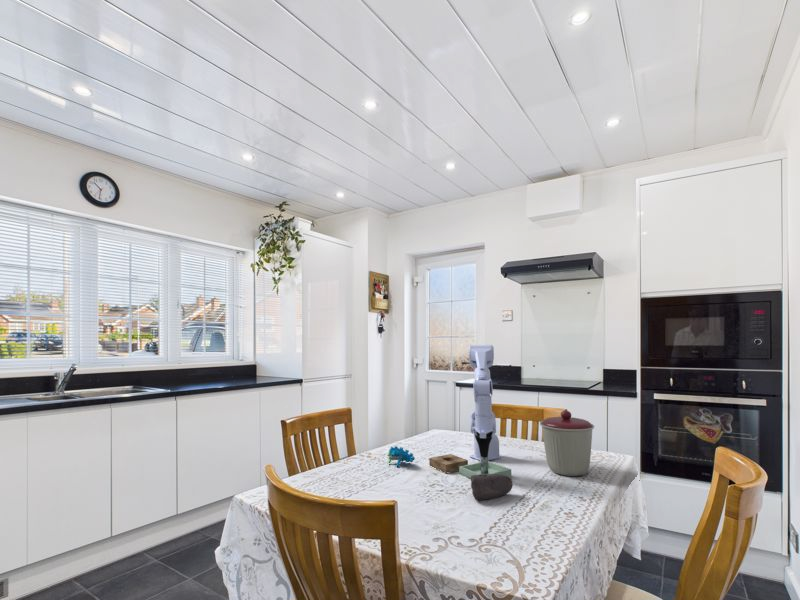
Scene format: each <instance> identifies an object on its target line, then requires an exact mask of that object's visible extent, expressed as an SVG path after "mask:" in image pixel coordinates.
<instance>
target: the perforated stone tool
mask: <svg viewBox="0 0 800 600" xmlns="http://www.w3.org/2000/svg"><path fill="white" fill-rule="evenodd" d="M470 487H471V488H470V489H472V497H474V498H473V499H474V500H476V501H477V500H478V501H479V500H484V501H485V500H492V499H496V498H500V497H503V496H505V495H507V494H509V493H510V492H511V490H512V489H513V480H512V478H511V477H507V476H505V475H501V474H484V475H481V474H479V475H473V476H471V479H470Z"/></svg>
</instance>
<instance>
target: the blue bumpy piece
mask: <svg viewBox="0 0 800 600" xmlns="http://www.w3.org/2000/svg"><path fill="white" fill-rule="evenodd" d="M409 452H410V451H409V450H408V449H405V450H404V447H401V446H399V447H398V446H397V445H395V446H391V447H390V449H389V450H388V453H387V457H388V459H389V460H388V462H387V464H388V463H390V464H391V462H392V461H397V462H396V466H399V467H400V464H401V463H402V462H401V461H404V462H405V463H406V462H409V463H413V461H414V460H416V459H415V456H414V453H412V452H410V453H409ZM396 466H395V467H396Z"/></svg>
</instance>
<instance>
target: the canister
mask: <svg viewBox="0 0 800 600" xmlns="http://www.w3.org/2000/svg"><path fill="white" fill-rule="evenodd" d="M539 425H540V426H541V431H542V438H543V445H544V452H545V457H546V462H547V466H548V468H549V469H550V471H552V472H553V473H556V474H558V475H561V476H567V477H579V476H584V475H585V474H587V473H588V471H589V470H590V463H591V455H592V442H593V430H594V429H595V425H594V424H593V423H592V422H589V420H586V419H583V418H579V417H578V418H577V417H572V413H571V411H569V410H562V411H561V412H560V416H552V417H547V418H544V419H543V420H541V421H540V422H539Z"/></svg>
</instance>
